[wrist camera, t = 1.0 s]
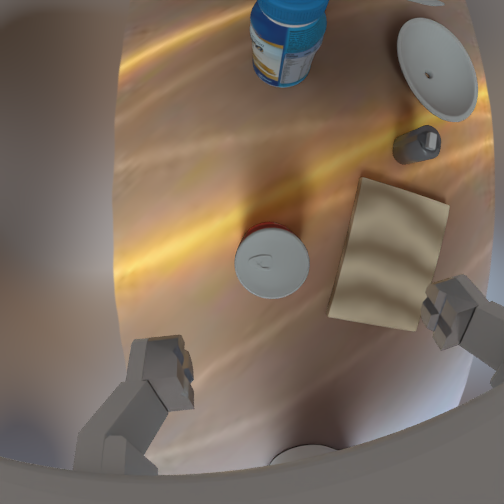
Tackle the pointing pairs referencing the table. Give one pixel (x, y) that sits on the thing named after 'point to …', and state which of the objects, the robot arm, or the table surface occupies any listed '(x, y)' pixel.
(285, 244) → the canned food
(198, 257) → the table surface
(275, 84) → the beverage bottle
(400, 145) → the dark grey cylinder
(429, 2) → the chef's knife
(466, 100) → the dish
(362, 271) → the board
